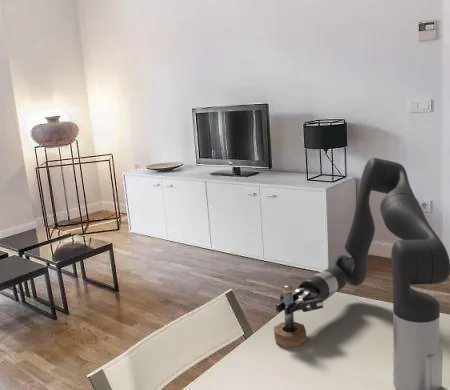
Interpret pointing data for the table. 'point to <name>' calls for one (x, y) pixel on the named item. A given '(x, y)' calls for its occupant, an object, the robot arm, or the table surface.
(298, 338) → the bead
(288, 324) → the banded metal pin
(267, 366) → the table surface
